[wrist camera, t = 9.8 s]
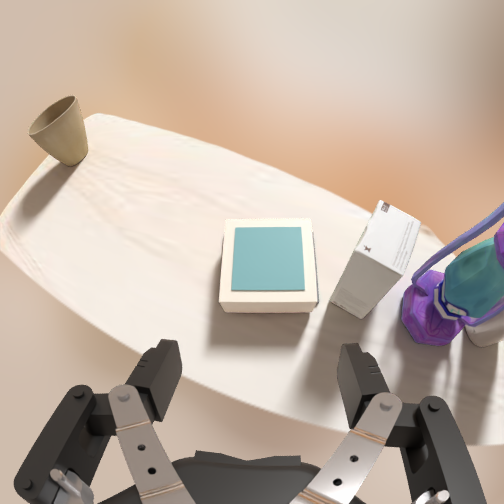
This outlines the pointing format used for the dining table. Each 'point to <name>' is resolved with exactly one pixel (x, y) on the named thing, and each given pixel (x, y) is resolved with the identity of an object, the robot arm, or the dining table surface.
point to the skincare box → (376, 260)
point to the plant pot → (61, 131)
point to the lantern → (457, 287)
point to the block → (268, 266)
